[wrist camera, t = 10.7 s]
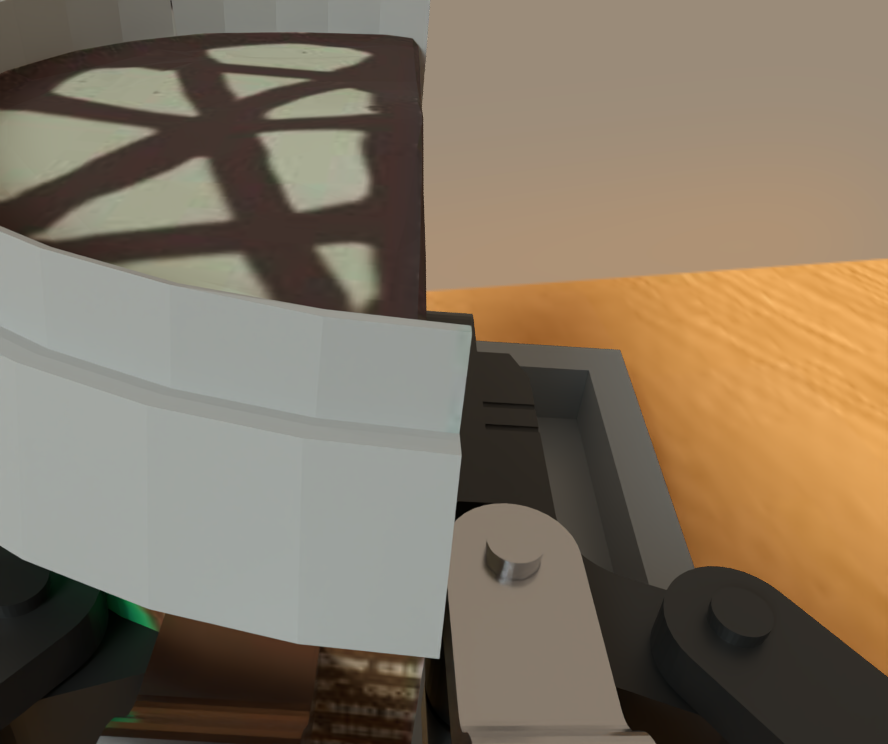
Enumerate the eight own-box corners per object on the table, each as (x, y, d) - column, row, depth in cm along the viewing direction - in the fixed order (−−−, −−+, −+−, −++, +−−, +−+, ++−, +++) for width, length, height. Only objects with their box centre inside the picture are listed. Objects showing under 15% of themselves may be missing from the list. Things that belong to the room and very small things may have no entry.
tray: (601, 420, 23) (620, 349, 22) (901, 1502, 9) (1012, 1501, 8) (160, 395, 22) (151, 320, 21) (-295, 1561, 8) (-426, 1573, 7)
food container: (125, 426, 19) (59, -57, 14) (393, 442, 20) (431, -18, 14) (-200, 1118, 9) (-941, 297, 4) (374, 1115, 10) (480, 388, 4)
